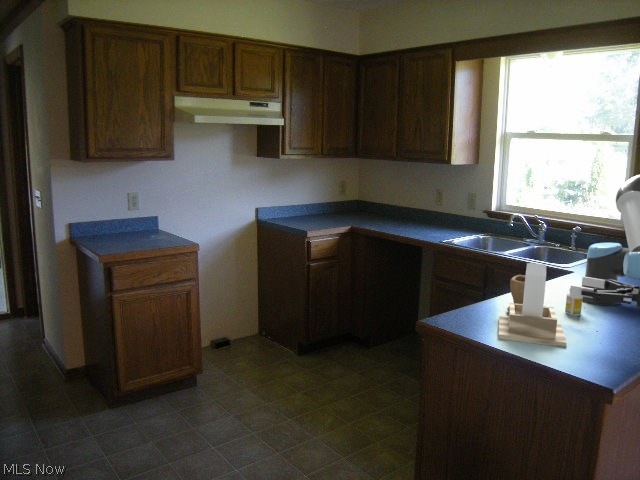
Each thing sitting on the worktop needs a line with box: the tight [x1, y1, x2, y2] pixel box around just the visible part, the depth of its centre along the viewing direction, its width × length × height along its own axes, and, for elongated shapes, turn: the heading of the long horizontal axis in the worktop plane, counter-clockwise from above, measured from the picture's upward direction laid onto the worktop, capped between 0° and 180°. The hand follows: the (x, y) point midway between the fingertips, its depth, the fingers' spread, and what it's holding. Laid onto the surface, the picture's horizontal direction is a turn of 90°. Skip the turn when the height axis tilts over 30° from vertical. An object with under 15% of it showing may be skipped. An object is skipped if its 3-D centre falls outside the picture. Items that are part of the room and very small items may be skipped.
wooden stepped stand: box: [497, 302, 567, 348], centre depth 179 cm, size 20×20×8 cm
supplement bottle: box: [564, 289, 583, 317], centre depth 200 cm, size 5×5×10 cm
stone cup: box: [506, 274, 526, 313], centre depth 196 cm, size 15×12×15 cm
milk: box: [522, 262, 547, 317], centre depth 178 cm, size 6×6×22 cm
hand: (576, 284), depth 171 cm, fingers open, 13 cm apart
